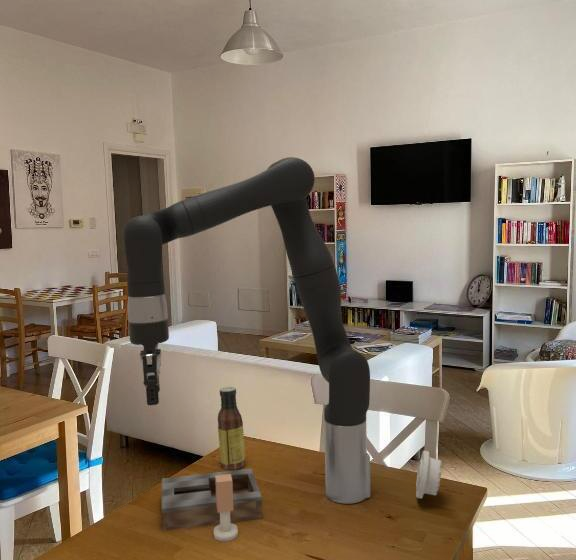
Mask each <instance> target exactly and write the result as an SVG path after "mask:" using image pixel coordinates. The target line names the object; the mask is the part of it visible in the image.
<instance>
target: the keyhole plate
mask: <svg viewBox="0 0 576 560" xmlns="http://www.w3.org/2000/svg"><path fill="white" fill-rule="evenodd" d="M226 474H231V477H232V483H233V511H230V522H231V523H234V522H243V521H251V520H259V519H262V518H263V496H262V494H261V491H260V488H259V486H258V482H257V480H256V477H255V474H254V472H253V469H252V468H244V469H242V468H241V469H237V470H226V471H217V472H209V473H200V474H192V475H191V474H190V475H189V474H188V475H183V476H182V475H181V476H173V477H163V478H162V479H161V521H162V522H161V523H162V525H161V526H162V531H170V530H179V529H189V528H197V527H205V526H211V525H212V526H213V525H214V526H215V525H219V524H220V512H219V513H218V511H217V506H216V483H215V476H217V475H226Z"/></svg>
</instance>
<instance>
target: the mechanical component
mask: <svg viewBox="0 0 576 560" xmlns="http://www.w3.org/2000/svg"><path fill="white" fill-rule="evenodd" d="M429 452H430V451H428V450H423V451H422V453H421V457H420V460H419V462H418V467H417V474H416V482H415V483H416V484H415V486H416V487H415V488H416V491H415V496H416V498H417V499H423V497H424V494H427V495H431V496H437V495H438V491H439V488H440V483H441V476H442V460H440V459H437V458H433V457H431V456H430V453H429Z"/></svg>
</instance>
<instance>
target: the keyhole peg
mask: <svg viewBox="0 0 576 560" xmlns="http://www.w3.org/2000/svg"><path fill="white" fill-rule="evenodd" d="M215 483H216V506H217V511H218V513H219V512H220V524H216V526H215V527H214V528H213V538H214V539H215V540H216V541H219V542H230V541H233V540H234V539H236V538H237V537H238V535H239V534H238V526H237V525H236V524H234V523H233V522H230V511H233V483H232V477H231V474H226V475H217V476H215Z"/></svg>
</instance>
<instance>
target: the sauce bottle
mask: <svg viewBox="0 0 576 560" xmlns="http://www.w3.org/2000/svg"><path fill="white" fill-rule="evenodd" d="M236 395H237V389H236V387H234V386H225V387H221V388H220V389H219V396H220V407H221V408H220V409H219V411H218V414H217V430H218V431H217V432H218V445H219V446H218V447H219V458H220V459H219V460H220V463H221V464H220V465H221V467H222V469H223V470H226V471H233V470H241V469H242V468H243V467H245V465H246V451H245V450H246V448H245V437H244V436H245V434H244V425H243V424H244V421H243V417H242V414H241V413H240V410H239V409H238V406H237V396H236Z"/></svg>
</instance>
